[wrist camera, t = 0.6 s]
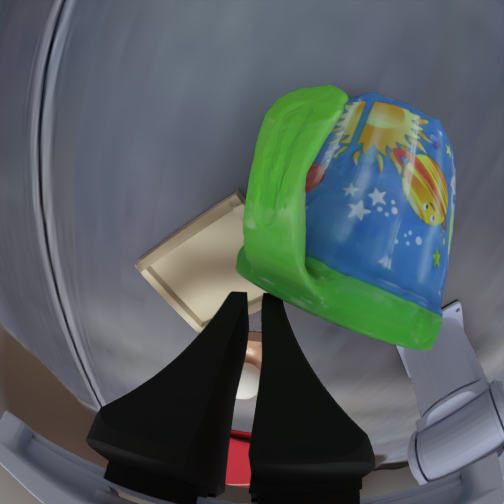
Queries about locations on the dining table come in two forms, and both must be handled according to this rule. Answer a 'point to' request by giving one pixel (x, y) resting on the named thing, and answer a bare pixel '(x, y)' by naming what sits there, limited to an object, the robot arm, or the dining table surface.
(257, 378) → the ball
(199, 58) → the dining table surface
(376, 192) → the snack cup
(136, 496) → the robot arm
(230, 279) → the tray
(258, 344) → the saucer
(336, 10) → the dining table surface
